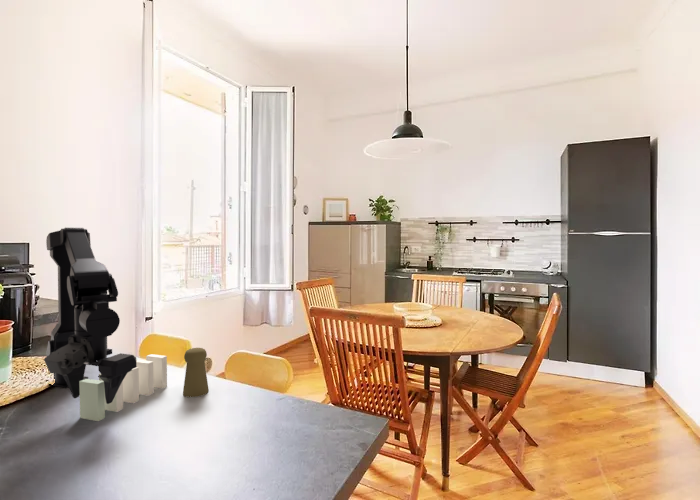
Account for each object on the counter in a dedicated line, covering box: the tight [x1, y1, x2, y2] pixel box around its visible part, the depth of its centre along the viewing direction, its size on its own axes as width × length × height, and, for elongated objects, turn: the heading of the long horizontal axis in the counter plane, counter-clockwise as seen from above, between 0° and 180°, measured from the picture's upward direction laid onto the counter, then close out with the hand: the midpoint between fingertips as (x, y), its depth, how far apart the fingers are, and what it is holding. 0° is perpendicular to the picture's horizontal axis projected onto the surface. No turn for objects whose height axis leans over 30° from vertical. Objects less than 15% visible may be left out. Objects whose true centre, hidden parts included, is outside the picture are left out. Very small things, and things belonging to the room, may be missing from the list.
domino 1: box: [98, 372, 124, 413], centre depth 87 cm, size 2×5×8 cm, turn 73°
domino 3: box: [136, 358, 155, 397], centre depth 96 cm, size 2×5×8 cm, turn 73°
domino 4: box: [145, 353, 168, 390], centre depth 100 cm, size 2×5×8 cm, turn 73°
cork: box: [182, 347, 210, 398], centre depth 97 cm, size 6×6×11 cm
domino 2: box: [123, 367, 140, 404], centre depth 92 cm, size 2×5×8 cm, turn 73°
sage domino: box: [79, 378, 106, 422], centre depth 83 cm, size 2×5×8 cm, turn 74°
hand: (92, 400), depth 83 cm, fingers open, 9 cm apart
